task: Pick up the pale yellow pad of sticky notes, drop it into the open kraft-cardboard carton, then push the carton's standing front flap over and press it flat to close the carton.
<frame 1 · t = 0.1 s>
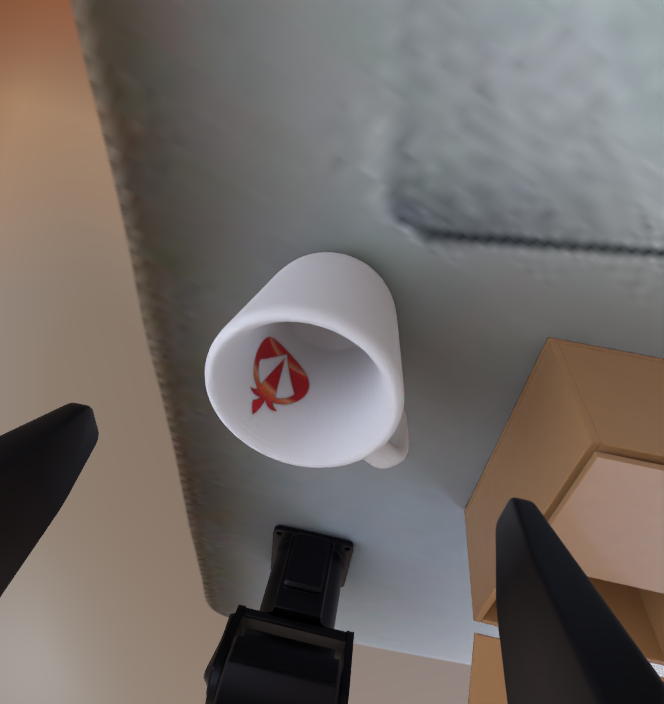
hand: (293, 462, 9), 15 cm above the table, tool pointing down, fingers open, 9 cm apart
carton: (590, 456, 27), on the table
cup: (350, 320, 25), on the table
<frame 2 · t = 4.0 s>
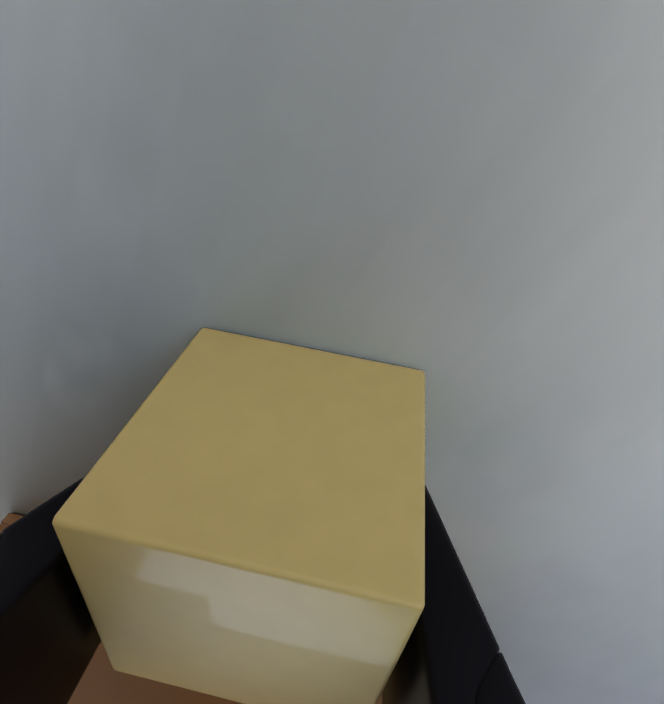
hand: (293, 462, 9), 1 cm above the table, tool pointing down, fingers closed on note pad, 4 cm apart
carton: (228, 636, 17), on the table
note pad: (302, 428, 10), on the table, touching gripper
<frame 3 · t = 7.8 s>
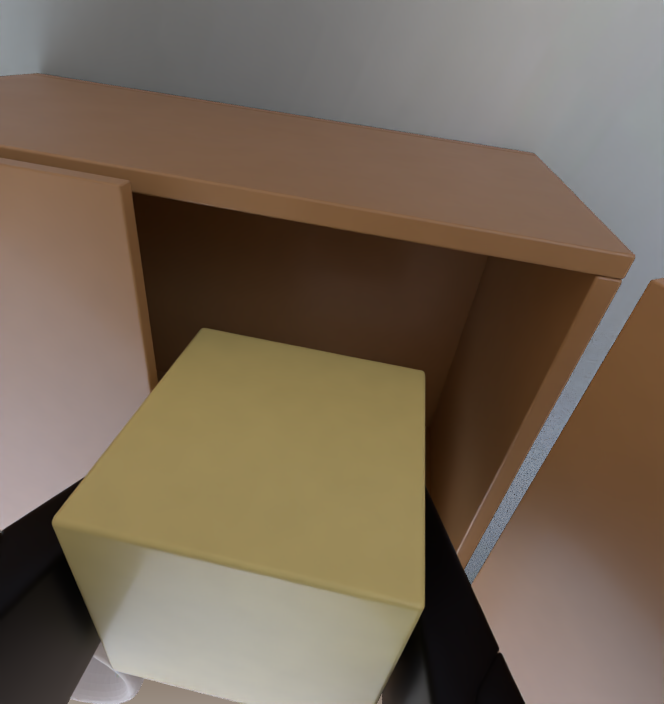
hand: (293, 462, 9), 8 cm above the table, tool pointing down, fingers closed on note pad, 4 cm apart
carton: (269, 279, 16), on the table
cup: (158, 502, 26), on the table
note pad: (302, 428, 10), point 7 cm above the table, touching gripper
when the fingers open (11 cm above the table, at t = 21.3 s): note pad drops 9 cm, resting on carton.
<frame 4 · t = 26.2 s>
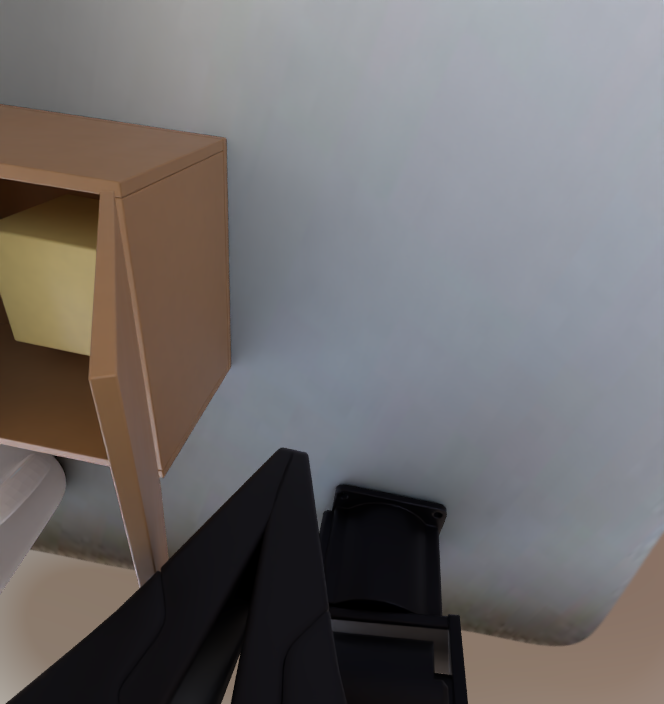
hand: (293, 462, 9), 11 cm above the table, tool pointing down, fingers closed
carton: (73, 242, 21), on the table
cup: (39, 451, 30), on the table
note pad: (125, 254, 20), resting on carton
flap: (144, 464, 11), point 11 cm above the table, hinge at 120.8°, touching gripper
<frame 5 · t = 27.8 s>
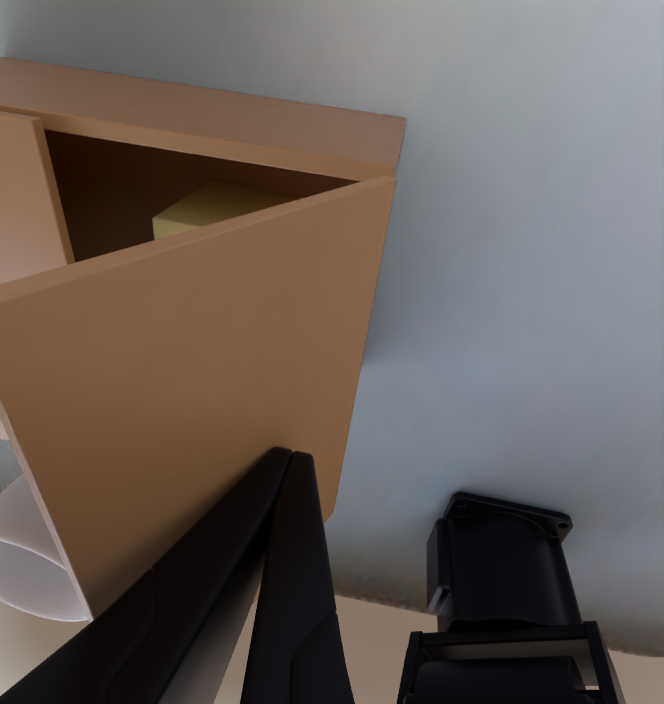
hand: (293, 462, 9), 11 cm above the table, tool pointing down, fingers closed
carton: (205, 234, 19), on the table
cup: (128, 451, 28), on the table
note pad: (266, 247, 18), resting on carton
flap: (255, 468, 9), point 11 cm above the table, hinge at 63.6°, touching gripper
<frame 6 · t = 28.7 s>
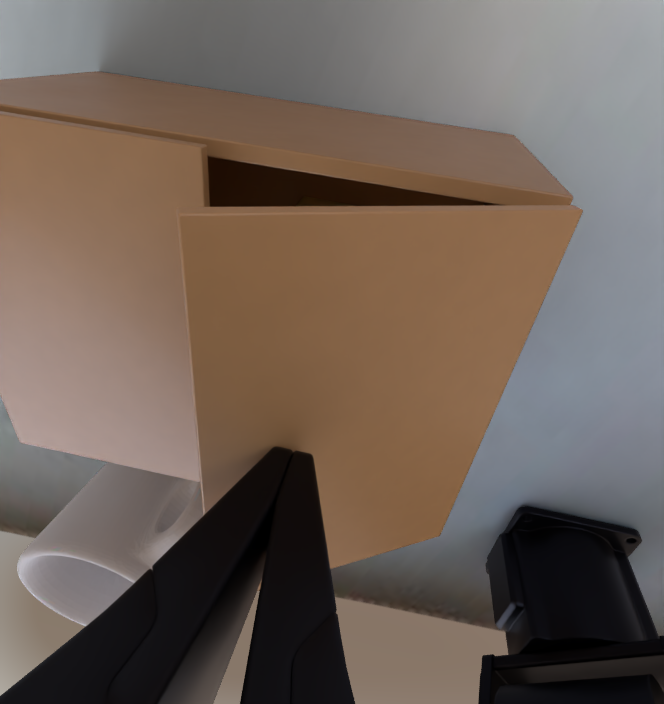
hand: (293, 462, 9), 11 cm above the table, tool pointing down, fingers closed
carton: (289, 249, 19), on the table
cup: (182, 463, 28), on the table
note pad: (353, 263, 18), resting on carton
flap: (361, 438, 10), point 10 cm above the table, hinge at 30.1°, touching gripper
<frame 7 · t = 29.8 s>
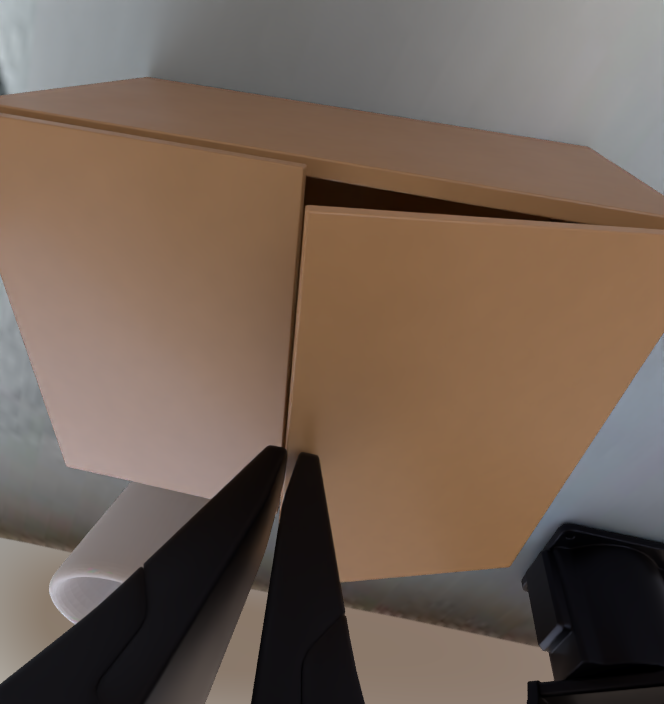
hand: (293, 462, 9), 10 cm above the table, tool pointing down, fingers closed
carton: (339, 261, 18), on the table
cup: (211, 476, 28), on the table
flap: (444, 450, 10), point 9 cm above the table, hinge at 18.3°, touching gripper
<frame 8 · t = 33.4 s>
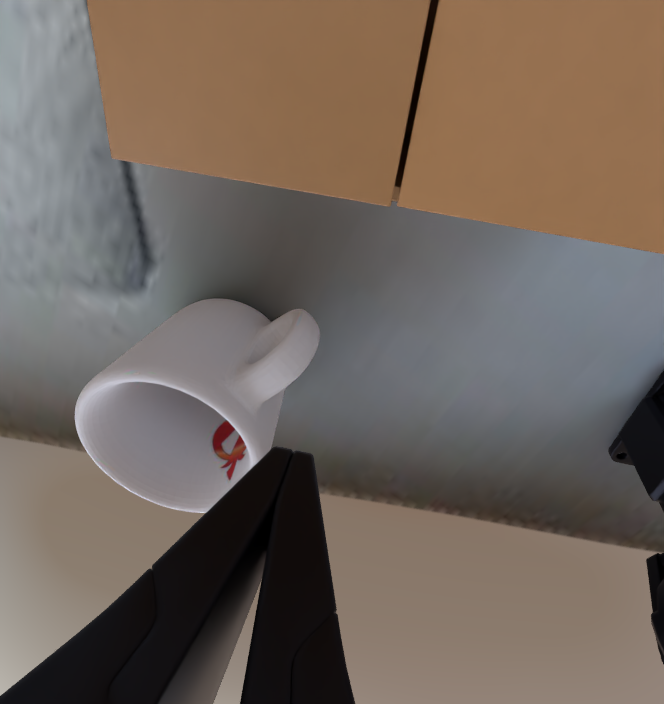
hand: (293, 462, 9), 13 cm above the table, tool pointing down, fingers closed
cup: (254, 330, 24), on the table
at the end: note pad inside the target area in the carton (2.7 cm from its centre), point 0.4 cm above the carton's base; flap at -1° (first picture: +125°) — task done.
